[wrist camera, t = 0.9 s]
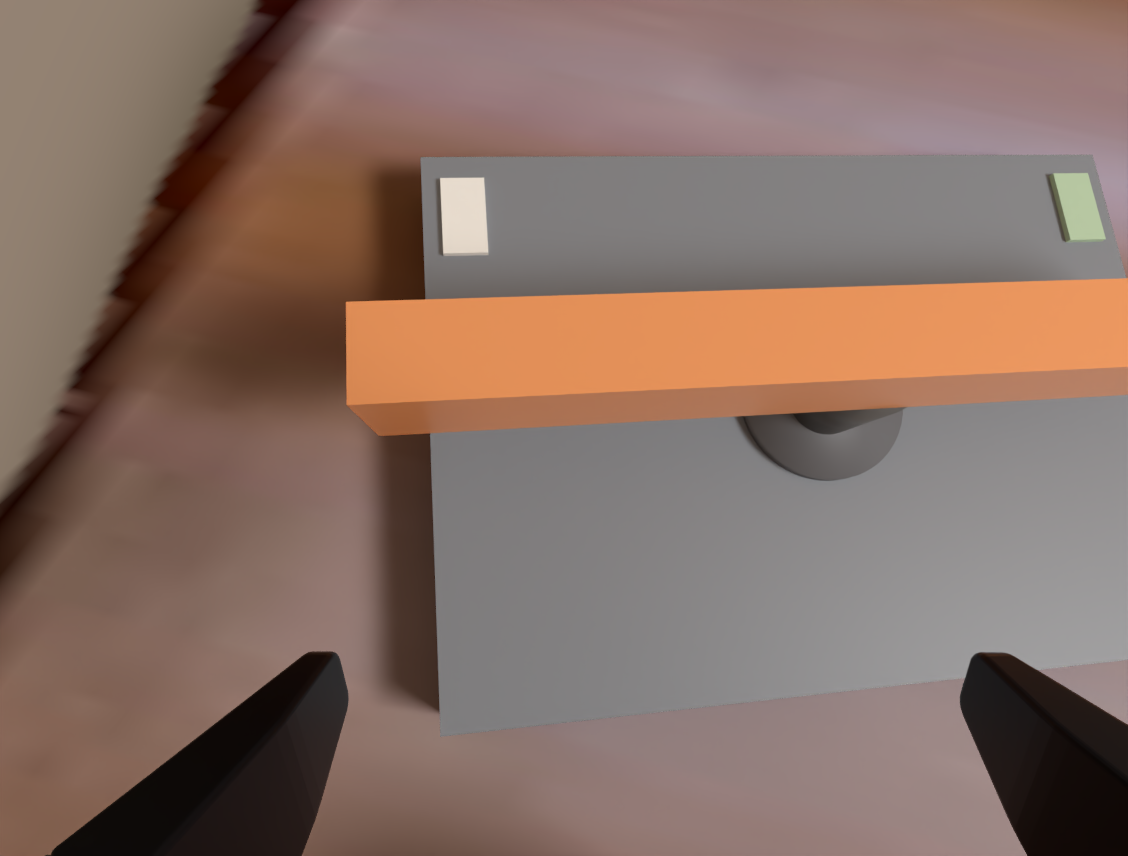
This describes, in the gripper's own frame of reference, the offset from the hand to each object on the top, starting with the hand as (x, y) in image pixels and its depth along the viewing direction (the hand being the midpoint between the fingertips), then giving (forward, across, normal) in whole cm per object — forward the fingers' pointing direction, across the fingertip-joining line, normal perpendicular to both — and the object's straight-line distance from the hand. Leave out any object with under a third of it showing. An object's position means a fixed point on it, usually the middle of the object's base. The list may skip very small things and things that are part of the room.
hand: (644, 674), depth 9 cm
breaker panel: (+16, -7, +3) cm, 18 cm away
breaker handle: (+15, -7, +1) cm, 16 cm away
